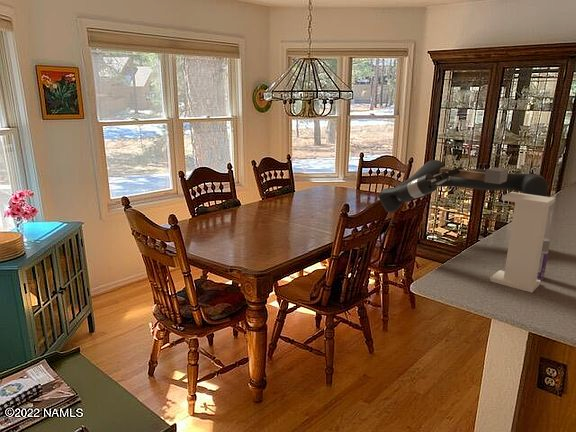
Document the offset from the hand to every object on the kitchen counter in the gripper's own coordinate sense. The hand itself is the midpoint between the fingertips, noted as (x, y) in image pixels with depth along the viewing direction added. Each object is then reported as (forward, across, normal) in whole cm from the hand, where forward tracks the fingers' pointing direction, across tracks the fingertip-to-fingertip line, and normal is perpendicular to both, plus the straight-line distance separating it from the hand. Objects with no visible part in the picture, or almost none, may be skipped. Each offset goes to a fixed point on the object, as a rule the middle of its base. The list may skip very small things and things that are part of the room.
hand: (460, 169), depth 162 cm
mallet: (+2, 0, +4) cm, 5 cm away
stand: (+2, 0, +46) cm, 46 cm away
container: (+6, +11, +48) cm, 50 cm away
